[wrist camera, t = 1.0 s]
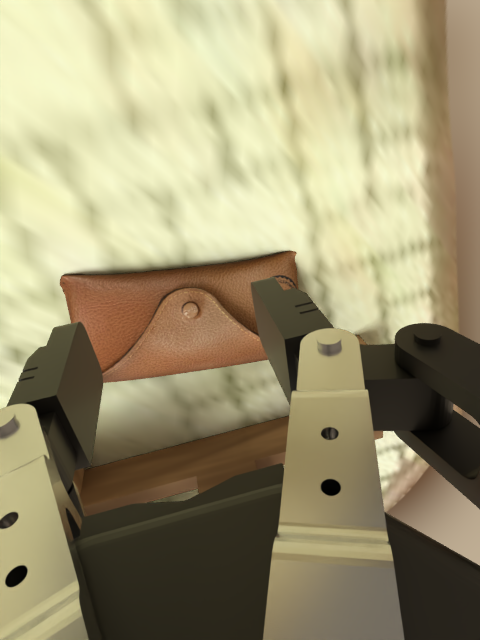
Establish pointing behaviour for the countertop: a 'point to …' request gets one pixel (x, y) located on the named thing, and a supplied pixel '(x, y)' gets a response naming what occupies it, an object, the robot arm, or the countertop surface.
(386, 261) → the countertop surface
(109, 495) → the display cradle
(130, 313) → the sunglasses case
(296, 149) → the countertop surface
